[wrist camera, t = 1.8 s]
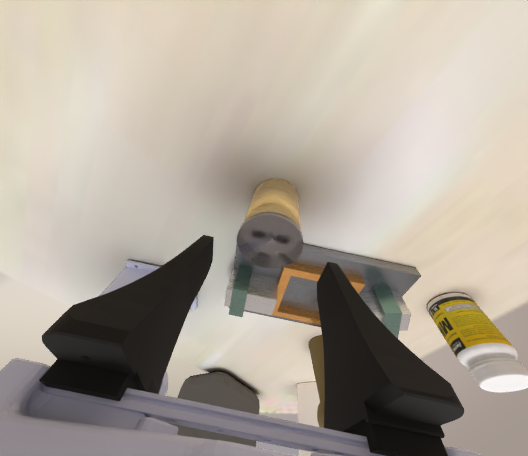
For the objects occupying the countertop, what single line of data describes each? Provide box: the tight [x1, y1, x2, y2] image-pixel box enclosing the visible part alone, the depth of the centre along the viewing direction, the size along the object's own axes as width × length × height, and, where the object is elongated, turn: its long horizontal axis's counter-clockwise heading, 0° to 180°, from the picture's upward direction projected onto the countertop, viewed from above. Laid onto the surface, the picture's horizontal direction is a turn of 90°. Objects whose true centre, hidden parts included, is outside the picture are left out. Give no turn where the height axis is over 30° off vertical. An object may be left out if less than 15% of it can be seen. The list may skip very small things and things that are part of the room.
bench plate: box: [225, 244, 421, 338], centre depth 24 cm, size 20×13×5 cm, turn 80°
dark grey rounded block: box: [169, 372, 259, 447], centre depth 42 cm, size 16×11×16 cm
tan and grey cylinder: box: [237, 179, 303, 269], centre depth 17 cm, size 5×5×7 cm
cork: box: [309, 335, 325, 428], centre depth 29 cm, size 6×6×11 cm
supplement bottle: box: [427, 293, 528, 392], centre depth 22 cm, size 5×5×8 cm
